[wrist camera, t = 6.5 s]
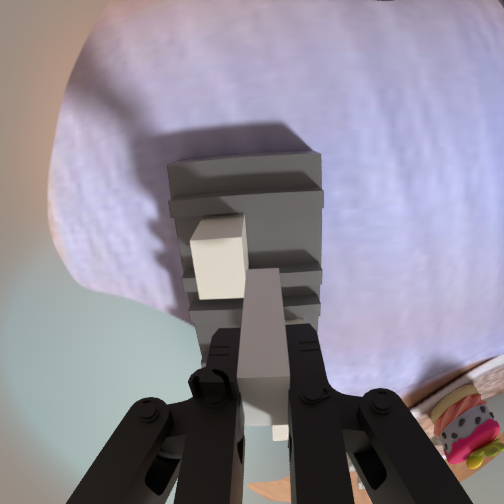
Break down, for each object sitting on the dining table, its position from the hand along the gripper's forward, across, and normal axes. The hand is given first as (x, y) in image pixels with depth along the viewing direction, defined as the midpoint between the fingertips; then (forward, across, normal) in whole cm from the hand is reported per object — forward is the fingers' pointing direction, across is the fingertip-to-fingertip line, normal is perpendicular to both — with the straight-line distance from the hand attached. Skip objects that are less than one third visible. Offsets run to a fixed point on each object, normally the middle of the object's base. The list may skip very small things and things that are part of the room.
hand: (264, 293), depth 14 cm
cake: (+12, +32, -34) cm, 49 cm away
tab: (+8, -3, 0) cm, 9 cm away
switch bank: (+12, -1, -10) cm, 15 cm away
